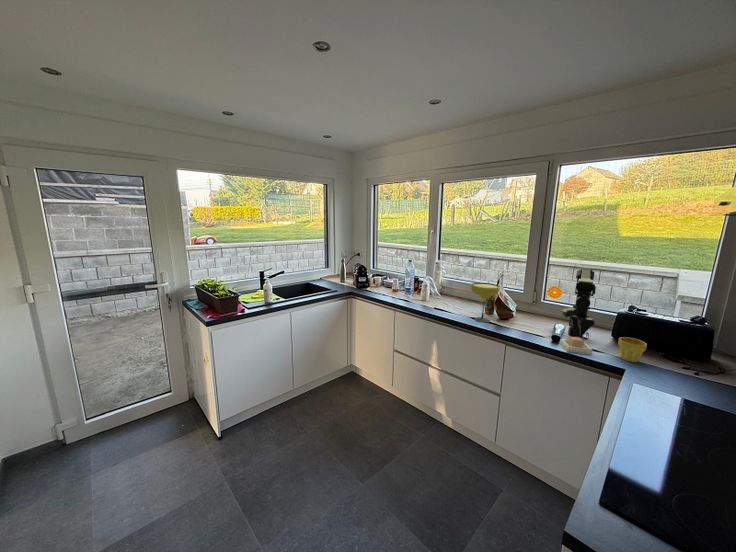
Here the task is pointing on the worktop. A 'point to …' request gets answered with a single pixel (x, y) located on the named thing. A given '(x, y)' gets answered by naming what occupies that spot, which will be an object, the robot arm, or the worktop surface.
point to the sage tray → (575, 348)
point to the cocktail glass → (484, 295)
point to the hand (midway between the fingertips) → (577, 332)
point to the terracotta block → (575, 342)
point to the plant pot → (631, 348)
